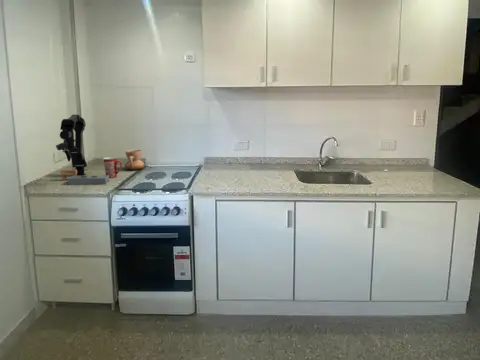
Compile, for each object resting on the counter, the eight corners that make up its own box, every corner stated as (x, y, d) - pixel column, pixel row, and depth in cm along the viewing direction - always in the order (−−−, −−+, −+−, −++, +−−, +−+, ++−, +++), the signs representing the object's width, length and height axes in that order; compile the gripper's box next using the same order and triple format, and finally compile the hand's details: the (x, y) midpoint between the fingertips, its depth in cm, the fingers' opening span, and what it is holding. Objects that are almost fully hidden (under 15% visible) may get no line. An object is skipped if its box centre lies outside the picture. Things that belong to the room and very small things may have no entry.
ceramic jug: (128, 166, 345) (127, 148, 342) (147, 167, 344) (146, 148, 341) (120, 171, 328) (119, 152, 325) (140, 171, 327) (139, 152, 323)
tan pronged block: (62, 179, 303) (62, 169, 302) (77, 179, 303) (76, 169, 302) (61, 180, 300) (60, 170, 298) (76, 180, 300) (75, 170, 299)
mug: (102, 178, 306) (100, 158, 303) (108, 175, 315) (107, 156, 312) (119, 178, 304) (118, 159, 301) (125, 176, 313) (123, 157, 310)
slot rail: (72, 181, 296) (72, 175, 295) (109, 181, 297) (108, 175, 296) (68, 184, 288) (67, 178, 287) (105, 184, 288) (105, 178, 287)
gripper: (52, 138, 293) (54, 161, 296) (60, 140, 279) (62, 164, 281) (70, 137, 300) (71, 160, 303) (78, 139, 285) (80, 163, 288)
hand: (71, 162), depth 294 cm, fingers open, 9 cm apart
